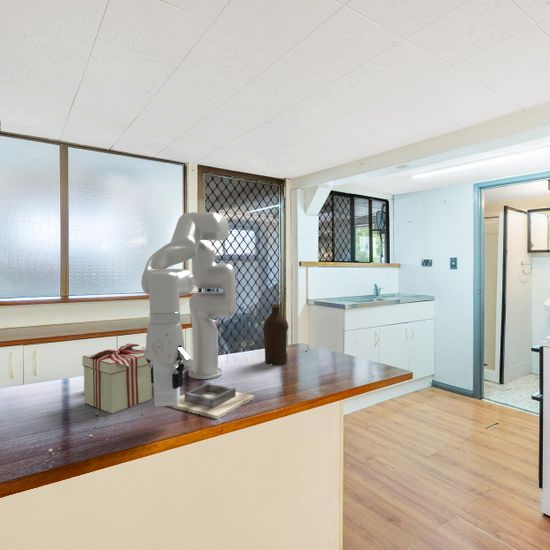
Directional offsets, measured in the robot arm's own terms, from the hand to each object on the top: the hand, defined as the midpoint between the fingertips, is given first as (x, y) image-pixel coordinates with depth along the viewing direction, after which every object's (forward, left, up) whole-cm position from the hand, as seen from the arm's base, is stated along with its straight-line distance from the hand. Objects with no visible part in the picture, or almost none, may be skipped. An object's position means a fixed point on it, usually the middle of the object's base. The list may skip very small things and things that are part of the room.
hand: (167, 384), depth 102 cm
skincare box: (0, 0, -5) cm, 5 cm away
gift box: (-25, +5, -11) cm, 28 cm away
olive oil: (-6, +67, -11) cm, 69 cm away
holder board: (-1, +18, -11) cm, 21 cm away
